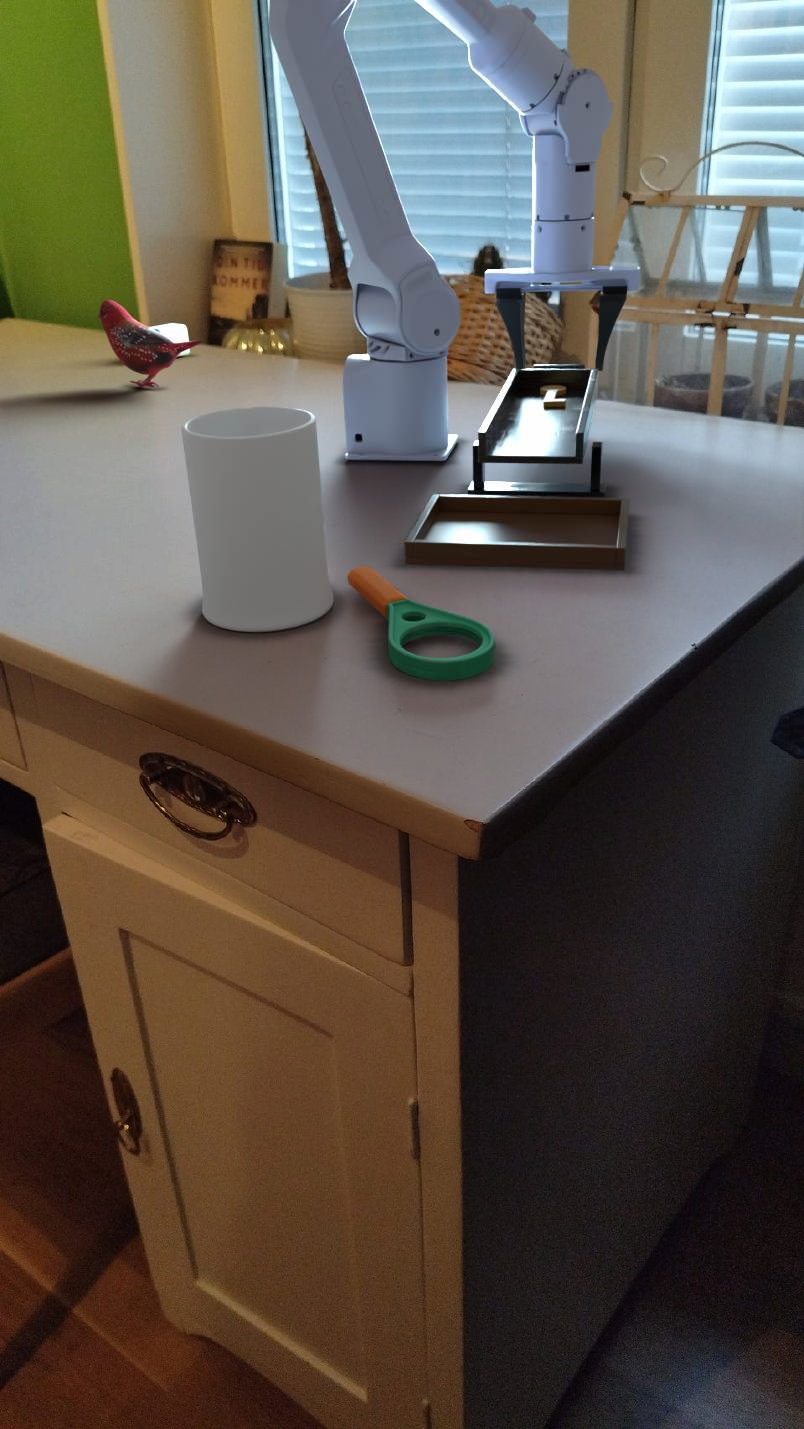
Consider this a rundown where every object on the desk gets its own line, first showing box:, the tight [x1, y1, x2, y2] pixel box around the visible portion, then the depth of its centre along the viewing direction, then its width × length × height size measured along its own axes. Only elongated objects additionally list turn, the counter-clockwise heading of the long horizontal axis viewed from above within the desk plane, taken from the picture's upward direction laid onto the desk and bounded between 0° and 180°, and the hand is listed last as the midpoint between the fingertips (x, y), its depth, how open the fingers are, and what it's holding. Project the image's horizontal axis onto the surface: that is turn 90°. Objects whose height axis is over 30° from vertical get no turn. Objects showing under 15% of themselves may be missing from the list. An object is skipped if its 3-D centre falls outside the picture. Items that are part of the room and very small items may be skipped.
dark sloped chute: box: [477, 363, 600, 465], centre depth 96 cm, size 8×30×2 cm, turn 169°
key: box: [540, 385, 566, 407], centre depth 101 cm, size 3×7×1 cm, turn 169°
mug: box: [181, 406, 335, 633], centre depth 70 cm, size 12×8×12 cm
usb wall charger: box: [149, 322, 191, 358], centre depth 151 cm, size 4×7×4 cm, turn 136°
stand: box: [467, 440, 607, 498], centre depth 90 cm, size 11×2×4 cm, turn 79°
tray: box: [404, 493, 630, 571], centre depth 81 cm, size 15×11×2 cm
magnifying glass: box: [347, 565, 496, 682], centre depth 67 cm, size 15×6×2 cm, turn 25°
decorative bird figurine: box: [97, 299, 203, 388], centre depth 132 cm, size 3×18×10 cm, turn 54°
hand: (559, 369), depth 109 cm, fingers open, 7 cm apart
